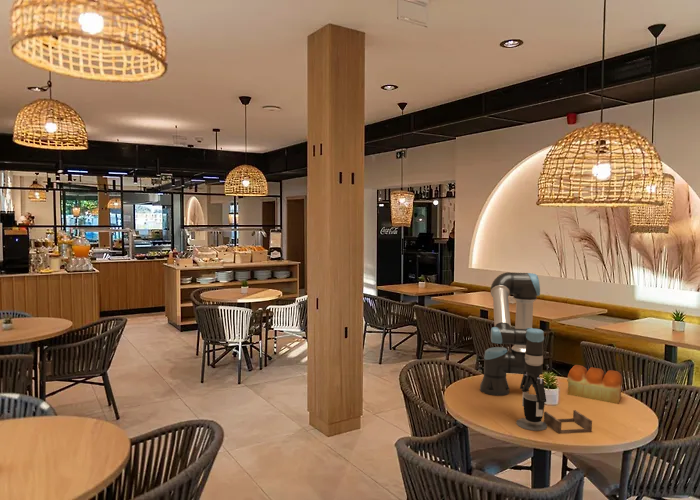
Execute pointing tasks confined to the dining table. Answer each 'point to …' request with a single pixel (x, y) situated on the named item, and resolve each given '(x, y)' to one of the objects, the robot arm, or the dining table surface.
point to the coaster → (531, 425)
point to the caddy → (577, 418)
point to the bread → (595, 384)
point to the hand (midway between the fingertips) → (532, 411)
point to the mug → (531, 408)
